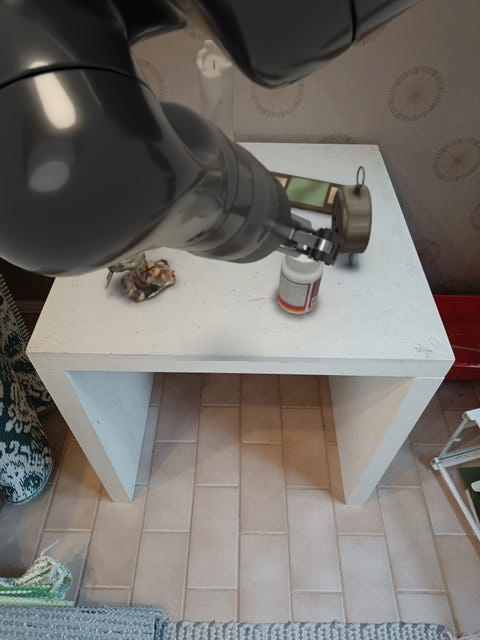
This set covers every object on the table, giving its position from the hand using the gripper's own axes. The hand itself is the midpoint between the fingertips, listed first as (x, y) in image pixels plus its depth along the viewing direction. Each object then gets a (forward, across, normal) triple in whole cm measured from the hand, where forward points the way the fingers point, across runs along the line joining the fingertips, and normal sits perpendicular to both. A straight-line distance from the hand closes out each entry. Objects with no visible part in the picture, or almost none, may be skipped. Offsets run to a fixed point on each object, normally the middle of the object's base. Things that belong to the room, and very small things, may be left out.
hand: (279, 233), depth 45 cm
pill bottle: (+24, 0, +8) cm, 25 cm away
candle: (+44, +32, -12) cm, 56 cm away
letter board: (+42, +9, -10) cm, 44 cm away
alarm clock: (+34, -2, -2) cm, 34 cm away
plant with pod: (+17, +24, +15) cm, 33 cm away
